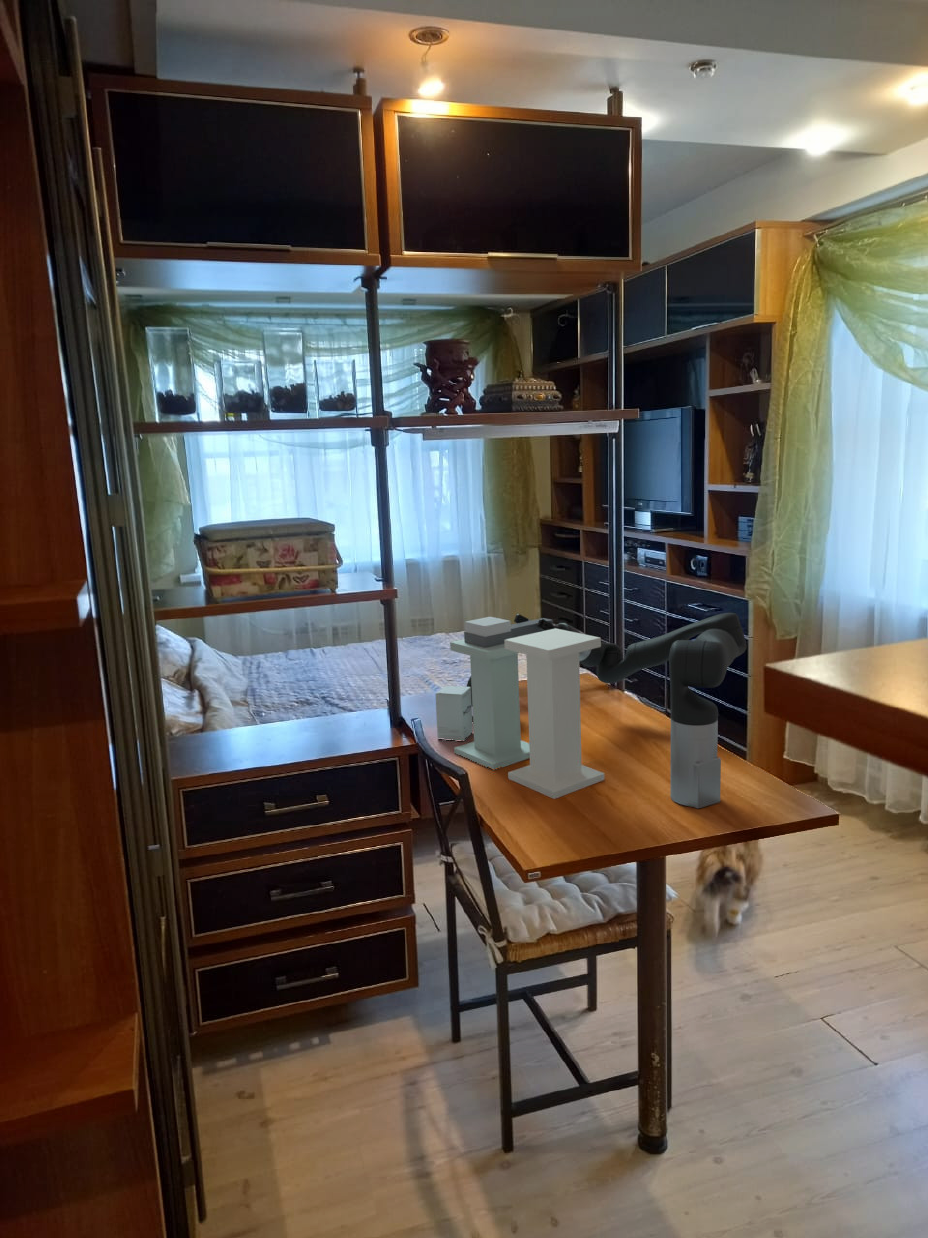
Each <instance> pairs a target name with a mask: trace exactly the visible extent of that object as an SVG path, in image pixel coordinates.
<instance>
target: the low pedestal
mask: <svg viewBox="0 0 928 1238" xmlns="http://www.w3.org/2000/svg"><path fill="white" fill-rule="evenodd" d="M449 648H450V652H451V651H452V652H454V653H455V652H456V653H459V654H462V655H467V656H469V659H470V661H469V663H470V677H471V685H472V706H473V707H472V716H473V724H472V728H473V741H471V742H469V743H466V744H461V745H459V746H454V748H453V749H454V750H453V751H454V754H455V753H456V754H455V755H457V754H458V755H457V756H459V755H461V756H463V757H462V758H464V757H466V758H468V759H470V760H469V761H471V760H472V761H471V762H473V761H474V762H473V763H475V762H477V763H476V764H478V763H479V764H478V765H480V764H481V765H480V766H482V765H484V766H485V768H487V767H490V768H492V769H496V768H499V767H502V768H504V767H507V766H510V765H514V764H516V763H519V762H522V761H525V760H528V759H530V749H529V742H527V741H525V740H522V739H521V738H522V737H521V736H522V735H521V734H522V733H521V711H520V709H521V707H520V706H521V705H520V686H519V684H520V683H519V682H520V681H519V656H518V655H519V654H520V653H519V652H515V651H511V650H507V649H505V644H501V645H496V646H492V647H487V648H484V647H480V646H476V645H473V644H469V643H465V641H464V638H462V639H459V640H454V641H450V642H449ZM461 756H460V757H461ZM466 758H465V759H466ZM468 759H467V760H468ZM484 766H483V767H484ZM499 769H500V768H499ZM496 770H497V769H496Z"/></svg>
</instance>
